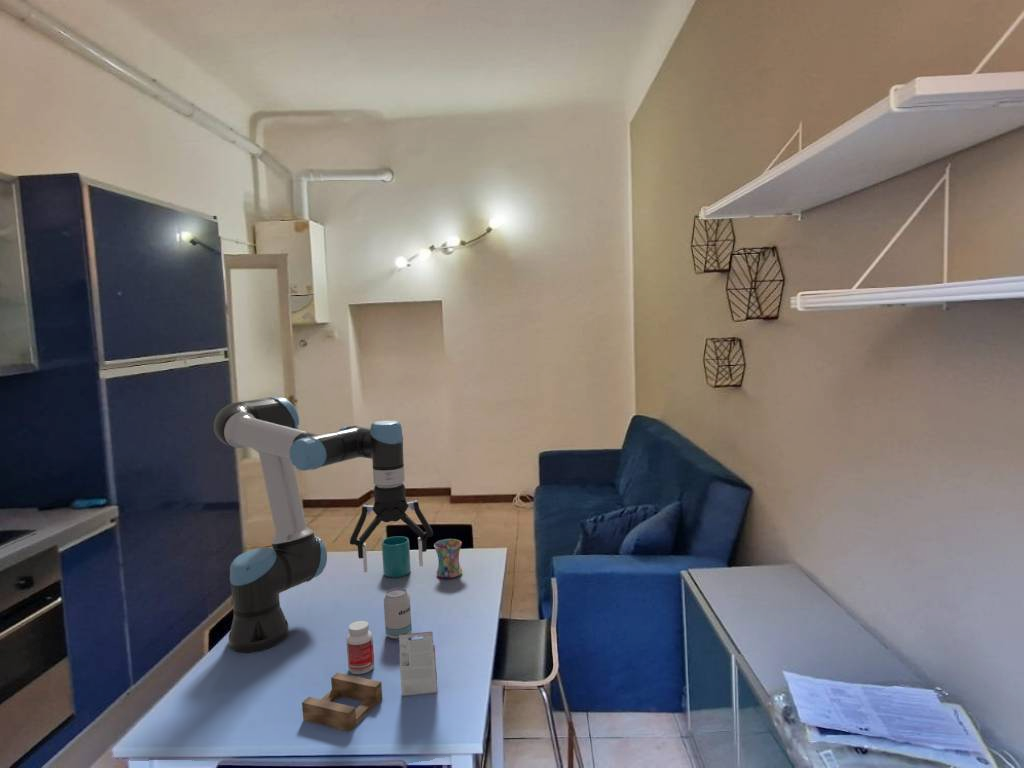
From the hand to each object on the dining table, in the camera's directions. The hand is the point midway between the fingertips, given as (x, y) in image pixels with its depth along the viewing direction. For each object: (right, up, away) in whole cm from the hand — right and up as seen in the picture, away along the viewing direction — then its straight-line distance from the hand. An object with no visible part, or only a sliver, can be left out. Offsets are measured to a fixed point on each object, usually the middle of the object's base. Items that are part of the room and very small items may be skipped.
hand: (393, 567), depth 155 cm
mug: (+9, -18, +50) cm, 54 cm away
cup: (-9, -18, +57) cm, 60 cm away
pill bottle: (-7, -24, -3) cm, 25 cm away
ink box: (+9, -24, -13) cm, 29 cm away
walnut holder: (-7, -25, -19) cm, 33 cm away
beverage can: (-1, -22, +13) cm, 26 cm away
